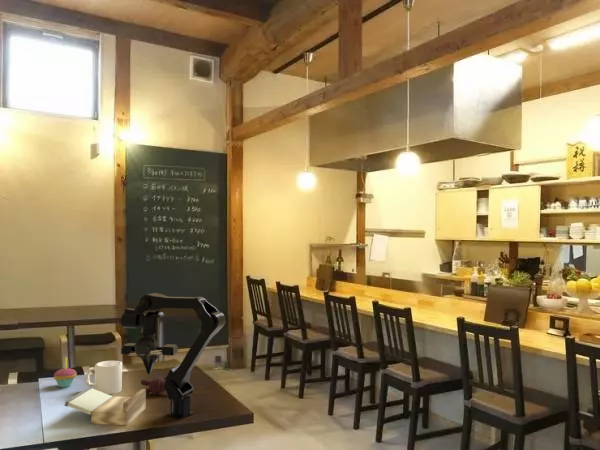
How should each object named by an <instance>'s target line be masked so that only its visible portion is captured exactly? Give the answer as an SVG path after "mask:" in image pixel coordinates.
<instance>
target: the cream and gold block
mask: <svg viewBox="0 0 600 450" xmlns="http://www.w3.org/2000/svg"><path fill="white" fill-rule="evenodd" d="M146 389H147V388H141V389H140V390H138V391H137V392H135V394H133V395H132V396H115V395H114V396H113V395H112V396H113V397H111V398H110V399H108V400H107V401H106V402H104V403H103V404H101V405H100V406H98V407H97V408H96V409H94V410H93V411H92V414H90V416H91V419H90V420H91V421H90V424H92V425H93V424H95V425H96V424H97V425H112V426H113V425H116V426H117V425H118V426H128V425H129V424H131V422H132V421H133V420H135V419H136V418H137V417H139V416H140V414H141V413H143V412H144V410H146V401H147V400H146V397H147V396H146V395H147V394H146Z"/></svg>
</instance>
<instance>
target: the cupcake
mask: <svg viewBox="0 0 600 450" xmlns="http://www.w3.org/2000/svg"><path fill="white" fill-rule="evenodd" d="M67 365H68V357H67V356H65V359H64V368H60V369H58V370H56V372H54V374H53V379H54V380H55V381H56V383H57V387H58V388H60V387H65V388H69V387H71V386H72V384H73V381H74V379H75V378H76V377H77V373H78V372H77V371H76V369H73V368H69V367H68V366H67ZM67 367H68V368H67Z"/></svg>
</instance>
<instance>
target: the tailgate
mask: <svg viewBox="0 0 600 450" xmlns="http://www.w3.org/2000/svg"><path fill="white" fill-rule="evenodd" d="M111 397H113V395H111V394H105V393H103V392H100V391H98V390H95V389H94V388H93V386H88V387H87V388H85V389H84V390H82V391H80V392H78V393H77V394H75V395H73V396H72V397H69V398H68V399H67V400H65V402H64V405H63V406H64V407H70V408H72V409H75V410H77V411H79V412H82V413H85V414H86V415H90V416H91V414H92V411H93V410H94V409H96V408H97V407H98V406H100V405H101V404H103V403H104V402H106V401H107V400H108V399H110V398H111Z"/></svg>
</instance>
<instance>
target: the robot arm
mask: <svg viewBox="0 0 600 450" xmlns="http://www.w3.org/2000/svg"><path fill="white" fill-rule="evenodd" d="M161 309H190V310H191V309H192V310H194V312H195V314H196V316H197V318H198V319H199V320H200V322H201V324H200V326H199V333H198V335H197V337H196V338H195V340H194V341H193V343H192V344H191V346H190V348H189V350H188V351H187V353H186V354H185V356H184V358H182V359H183V360H182V361H181V362H180V364H179V365H177V366H175V367H173V368H170V369H169V371H168V374H167V375H166V377H164V379H163V380H165V382H164V387H165V390H166V391H165V392H166V393H167V397H168V398H167V399H168V400H170V407H169V408H170V409H169V410H170V412H167V416H169V417H172V418H175V419H176V418H177V419H184V418H186V417H189V416H192V415H194V412H193V411H191V399H192V398H191V395H193V393H194V391H195V387H194V386H193V384H191V383H190V379H191V374H192V370H193V369H194V367H195V366H196V363H197V362H198V360H199V359H200V358H201V355H202V354H203V352H204V351H205V350H206V347H207V346H208V344H209V343H210V341H211V340H212V338H214V336H216V334H218V333H220V330H221V329H222V328H223V327H224V326H225V325H226V323H227V319H226V316H225V314H224V313H223V312H221V311H219V310H218V308H217V307H216V306H215V305H212V304H211V303H210V302H208V301H207V299H206V298H205V297H203V296H194V297H193V296H167V295H165V294H163V293H158V292H154V293H153V292H152V293H147V294H143V295H142V296H141V297H140V300H139V303H138V304H137V306H136V307H135V308H130V307H129V308H124V312H123V313H122V315H121V318H120V325H121V327H122V328H127V329H140V328H141V332H140V334H139V339H138V340H137V341H136V342H135V343H134V342H128V343H125V344H124V345H122V346H121V348H120V354H121V355H130V354H131V353H132V352H135V355H136V356H137V358H140V359H141V361H142V363H143V365H144V368H145V371H146V374H147V375H150V374H151V373H152V370H153V369H154V367H155V364H156V361H157V359H158V357H160V356H161V355H163V356H175V354H177V353H178V352H179V350H178V349H179V347H178V345H177V344H172V343H171V344H170V343H169V344H167V343H166V344H165V345H164V346H160V341H159V335H160V329H159V327H160V324H159V323H160V322H159V321H160V318H163V317H165V316H166V315H165V313H164V312H162V310H161ZM154 310H156V311H154Z"/></svg>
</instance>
